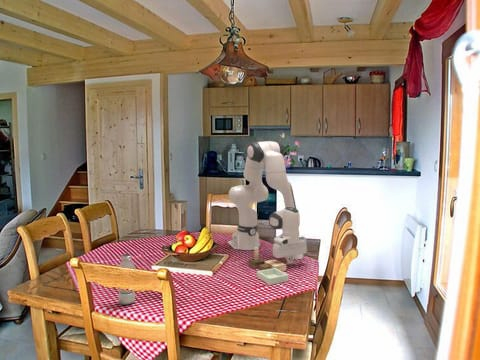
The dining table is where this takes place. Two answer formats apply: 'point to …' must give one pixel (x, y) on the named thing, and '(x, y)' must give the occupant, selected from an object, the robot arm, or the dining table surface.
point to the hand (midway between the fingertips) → (289, 263)
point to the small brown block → (264, 267)
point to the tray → (272, 276)
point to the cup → (297, 257)
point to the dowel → (256, 254)
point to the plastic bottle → (126, 295)
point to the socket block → (255, 263)
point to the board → (276, 265)
